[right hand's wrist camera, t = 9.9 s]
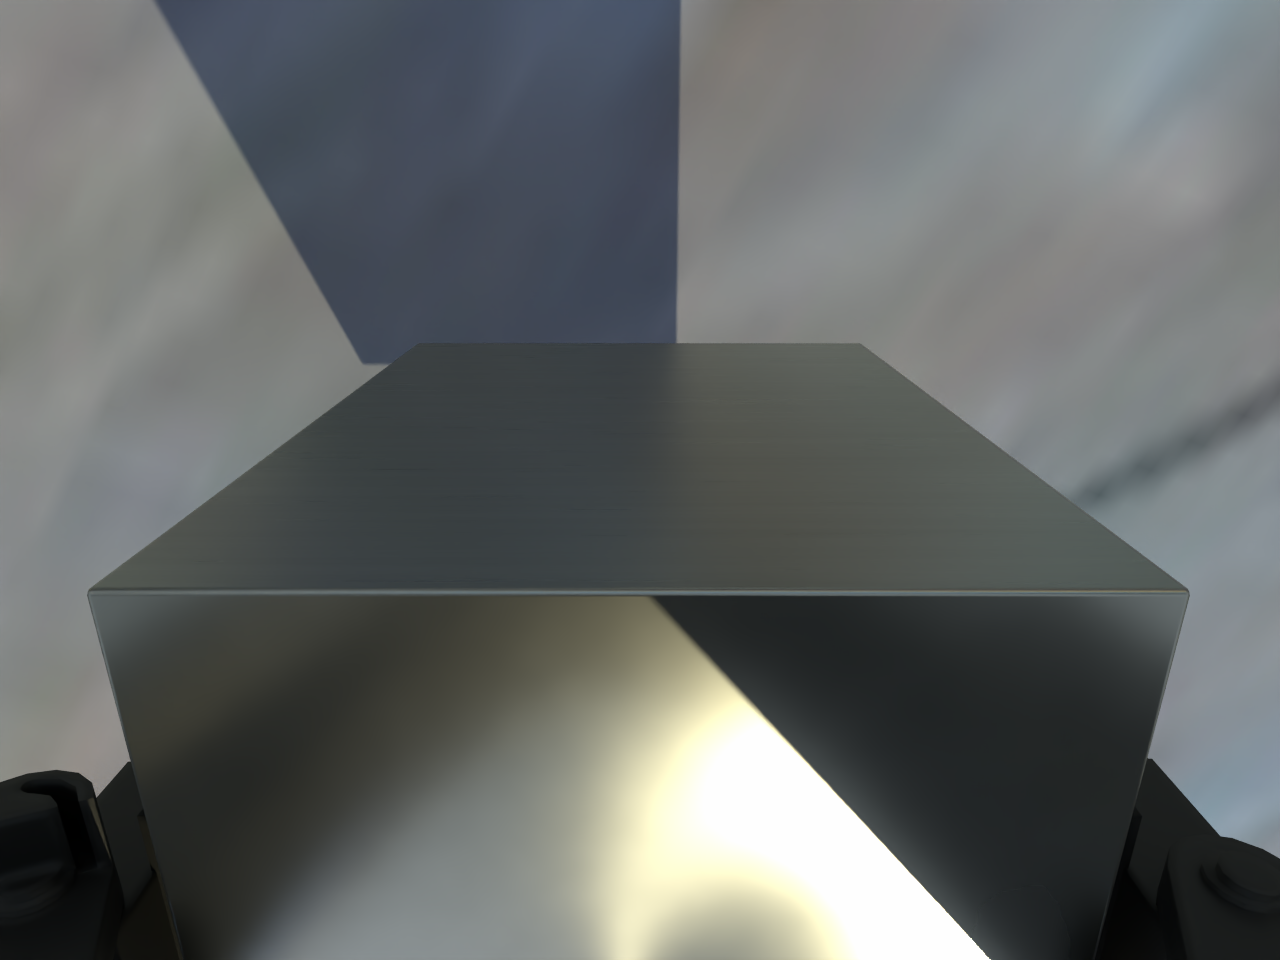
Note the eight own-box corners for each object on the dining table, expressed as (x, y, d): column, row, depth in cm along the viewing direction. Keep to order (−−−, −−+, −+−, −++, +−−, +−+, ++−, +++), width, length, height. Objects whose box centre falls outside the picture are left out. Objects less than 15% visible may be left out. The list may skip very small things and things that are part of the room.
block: (824, 734, 18) (1010, 1291, 9) (454, 734, 18) (267, 1291, 9) (861, 343, 15) (1194, 589, 6) (417, 343, 15) (82, 589, 6)
